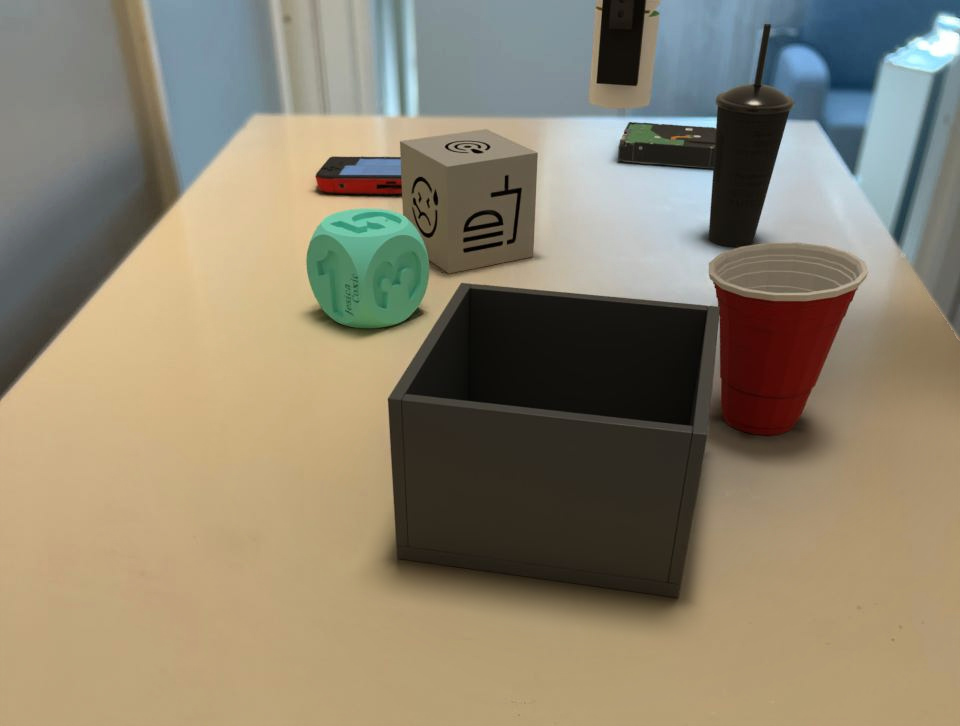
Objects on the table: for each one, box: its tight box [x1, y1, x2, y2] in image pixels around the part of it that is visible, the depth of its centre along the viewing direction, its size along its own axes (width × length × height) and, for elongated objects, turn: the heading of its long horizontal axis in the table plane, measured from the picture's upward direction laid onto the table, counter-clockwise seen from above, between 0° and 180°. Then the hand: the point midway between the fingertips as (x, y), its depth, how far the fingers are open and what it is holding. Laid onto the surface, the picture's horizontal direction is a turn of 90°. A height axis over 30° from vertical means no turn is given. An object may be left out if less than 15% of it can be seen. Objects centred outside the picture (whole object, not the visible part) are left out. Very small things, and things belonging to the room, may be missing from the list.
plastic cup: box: [708, 242, 869, 436], centre depth 73 cm, size 11×11×12 cm
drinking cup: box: [708, 23, 795, 248], centre depth 101 cm, size 8×8×20 cm
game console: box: [315, 155, 402, 195], centre depth 121 cm, size 14×13×2 cm
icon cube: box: [399, 128, 539, 275], centre depth 101 cm, size 10×10×10 cm
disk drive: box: [617, 121, 716, 170], centre depth 131 cm, size 10×3×15 cm
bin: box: [387, 282, 720, 599], centre depth 64 cm, size 18×18×11 cm
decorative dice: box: [305, 207, 430, 329], centre depth 89 cm, size 8×8×8 cm
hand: (622, 74), depth 68 cm, fingers closed on tube, 4 cm apart
